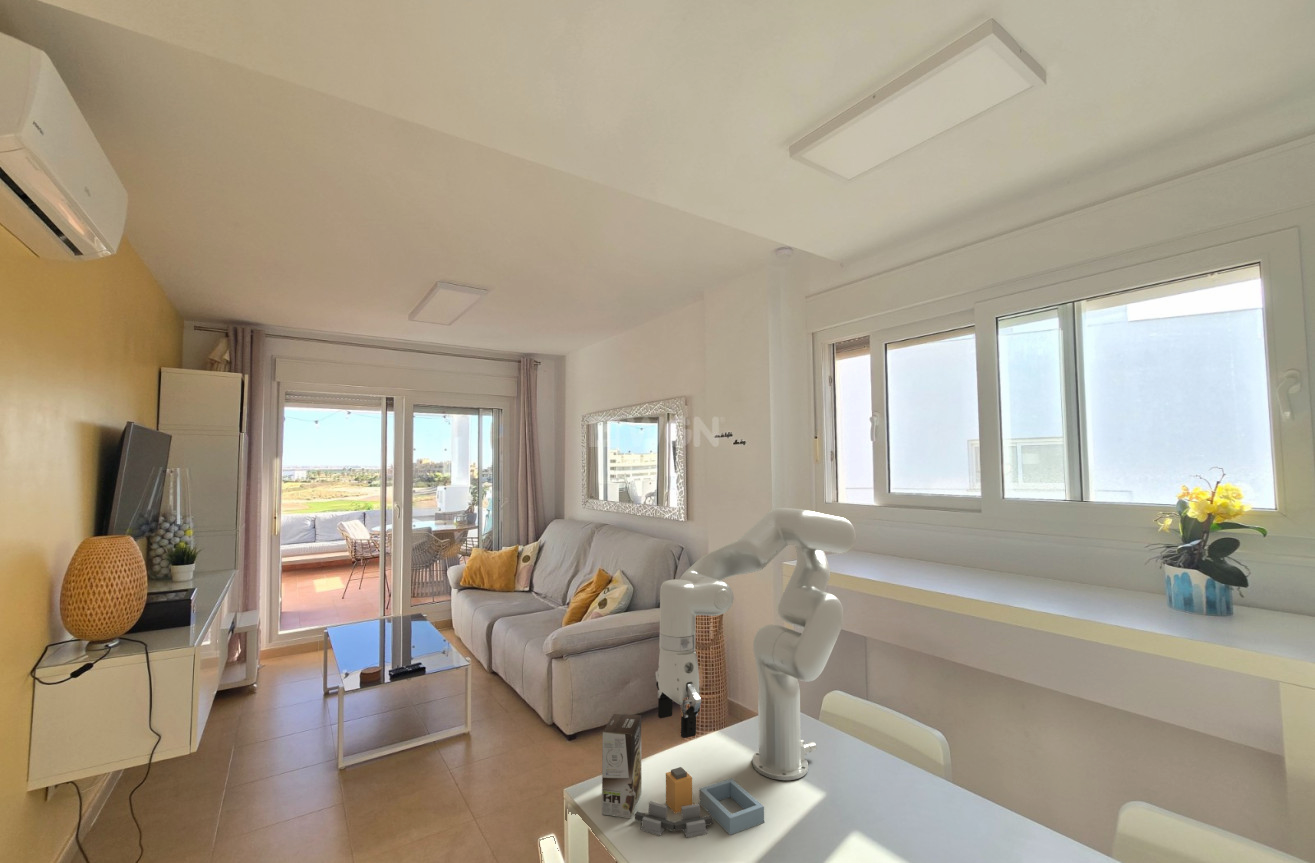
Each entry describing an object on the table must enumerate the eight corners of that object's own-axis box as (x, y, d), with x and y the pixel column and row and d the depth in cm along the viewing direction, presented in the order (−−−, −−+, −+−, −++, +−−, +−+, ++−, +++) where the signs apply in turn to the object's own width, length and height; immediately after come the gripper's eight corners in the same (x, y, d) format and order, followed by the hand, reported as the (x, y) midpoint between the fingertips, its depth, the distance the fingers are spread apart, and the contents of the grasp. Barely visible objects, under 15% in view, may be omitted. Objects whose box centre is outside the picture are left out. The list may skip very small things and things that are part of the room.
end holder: (731, 792, 118) (731, 778, 118) (764, 822, 108) (764, 806, 108) (699, 803, 114) (699, 788, 114) (730, 835, 104) (730, 818, 105)
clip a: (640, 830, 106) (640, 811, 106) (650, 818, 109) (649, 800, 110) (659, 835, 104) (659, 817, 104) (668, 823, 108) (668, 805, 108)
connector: (682, 797, 116) (682, 764, 117) (692, 808, 113) (692, 773, 113) (665, 803, 114) (665, 768, 115) (675, 813, 111) (675, 778, 111)
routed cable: (712, 820, 108) (712, 815, 108) (712, 833, 104) (712, 827, 104) (635, 816, 109) (635, 811, 109) (632, 828, 105) (632, 823, 105)
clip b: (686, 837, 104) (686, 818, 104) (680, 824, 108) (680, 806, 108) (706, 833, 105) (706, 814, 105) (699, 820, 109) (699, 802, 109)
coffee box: (632, 819, 109) (632, 734, 110) (600, 815, 110) (601, 731, 111) (642, 792, 118) (642, 714, 119) (613, 789, 119) (613, 712, 120)
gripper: (715, 651, 110) (714, 740, 108) (673, 628, 125) (672, 707, 124) (682, 656, 106) (681, 749, 105) (643, 632, 121) (641, 713, 120)
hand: (676, 726), depth 114 cm, fingers open, 9 cm apart
